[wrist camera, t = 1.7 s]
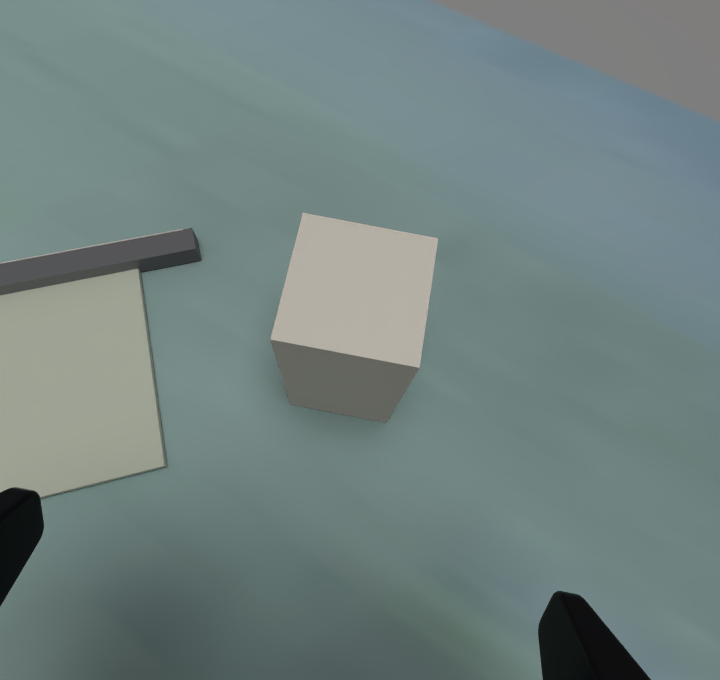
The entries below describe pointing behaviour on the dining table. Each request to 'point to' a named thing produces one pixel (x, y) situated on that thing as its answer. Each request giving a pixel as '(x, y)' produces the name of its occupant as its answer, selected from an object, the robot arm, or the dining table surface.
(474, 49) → the dining table surface
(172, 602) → the dining table surface
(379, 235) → the carton
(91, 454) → the pad
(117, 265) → the rail
